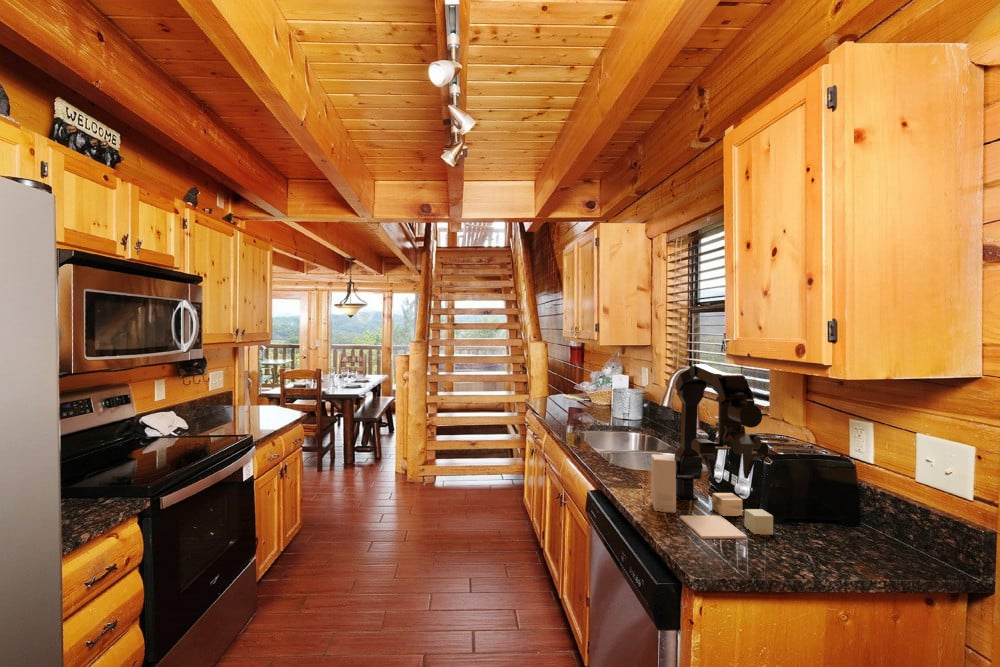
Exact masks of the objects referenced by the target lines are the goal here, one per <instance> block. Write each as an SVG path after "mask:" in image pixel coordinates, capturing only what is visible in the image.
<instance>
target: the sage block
mask: <svg viewBox="0 0 1000 667" xmlns="http://www.w3.org/2000/svg"><path fill="white" fill-rule="evenodd" d="M743 525H744V526H745V527H746V528H745V527H744V528H745V529H746V530H748V529H749V530H750V531H749V530H748V531H749V532H750V533H752V532H753V533H754V534H753V533H752V534H753V535H755V534H760V535H773V534H774V516H773V515H772V514H771V513H769V512H767V511H766V510H764V509H762V508H759V509H757V508H755V509H754V508H753V509H752V508H748V509H747V508H746V509H745V508H744V524H743Z"/></svg>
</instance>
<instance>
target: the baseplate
mask: <svg viewBox="0 0 1000 667" xmlns="http://www.w3.org/2000/svg"><path fill="white" fill-rule="evenodd" d="M679 518H680V520H682V521H683V522H684V523H685V524H686V525H687V527H689V528H690V529H691V530H692V529H693V530H694V531H695V532H696V533H695V532H694V531H693V530H692V531H693V532H694V533H695V534H697V535H698V537H699V538H701V539H747V538H748V536H747V535H746V534H745V533H743V532H742V531H741V530H740V529H738V528H737V527H736V526H735V525H733V524H732V523H731V522H729V521H728V520H727V519H726V518H724V517H722V516H721V515H679Z"/></svg>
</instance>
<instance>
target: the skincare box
mask: <svg viewBox="0 0 1000 667" xmlns="http://www.w3.org/2000/svg"><path fill="white" fill-rule="evenodd" d="M650 457H651V458H650V460H651V462H650V465H651V466H650V467H651V468H650V469H651V504H652V507H653V510H654V512H657V511H660V513H669V514H670V513H674V514H675V513H677V497H676V461H675V460H674V458H675V457H674V456H673V455H672V454H651V455H650Z"/></svg>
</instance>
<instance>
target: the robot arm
mask: <svg viewBox="0 0 1000 667" xmlns="http://www.w3.org/2000/svg"><path fill="white" fill-rule="evenodd" d="M709 385H711V386H712V389H713V391H714V392H715V393H716V394H717V395H718V396H716V398H715V401H716V402H718V414H717V415H718V421H716V422H715V426H716V427H717V428H718V430H717V436H716V437H715V441H716V442H713V441H712V440H709V439H707V438H697V437H698V435H697V434H698V412H699V411H698V409H699V407H698V406H699V404H700V403H701V401H702V400H703V399H704V396H705V395H704V394H705V390H706V389H707V388H708V386H709ZM675 389H676V390H675V391H676V396H677V397H678V399H679V400H680V403H681V411H680V412H681V415H680V418H681V420H680V441H679V442H680V444H679V447H678V449H677V450H676V452H675V453H674V457H673V458H674V460H675V461H676V499H678V500H699V497H698V496H697V495H696V494H695V480H699V481H700V480H701V478H702V475H703V468H704V467H703V466H704V465H703V461H704V464H705V466H706V469H707V472H708V475H709V477H710V479H715V458H716V456H717V454H715V452H716V451H720V450H722V451H725V450H727V451H728V450H729V451H731V450H732V452H733V453H734V454H736V455H742V470H743V477H744V478H745V479H746V480H747V479H749V477H750V474H751V472H752V470H753V468H754V465H755V464H756V461H757V460H759V459H760V458H764V457H765V455H769V454H770V446H769V444H768V443H767V442H765V441H762V440H761V439H762V437H761V436H760V435H759V434H756V433H755V434H753V433H752V434H747V433H746V428H745V427H747V428H756V427H758V425H760V424H761V422H762V421H763V413H762V411H761V410H760V409H761V408H759V406H756V405H755V400H754V394H753V391H752V389H751V387H750V385H749V382H748V380H747V379H746V376H744V374H742V373H730V372H729V373H728V372H724V371H721V370H718V369H716V368H713V367H711V366H710V365H708V364H706V363H705V364H703V363H702V364H700V363H699V364H695V363H694V364H691V365H690V366H689V368H688V369H686V370H685V371H684V372H682V373H680V374H679V375H678V377H677V379H676V380H675Z"/></svg>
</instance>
